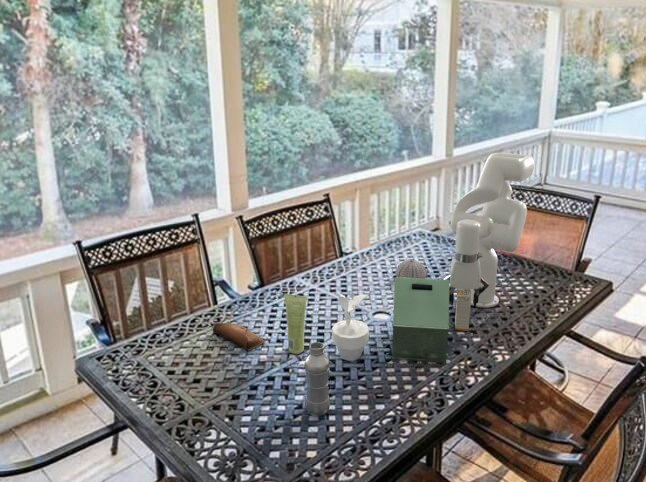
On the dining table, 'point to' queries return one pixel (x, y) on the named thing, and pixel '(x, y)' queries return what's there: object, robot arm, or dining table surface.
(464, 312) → the supplement box
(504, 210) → the robot arm
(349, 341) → the potted plant
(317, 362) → the plastic bottle
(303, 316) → the tube
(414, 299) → the bin lid
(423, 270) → the sea urchin shell
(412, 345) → the green storage bin
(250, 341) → the sunglasses case
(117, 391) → the dining table surface
